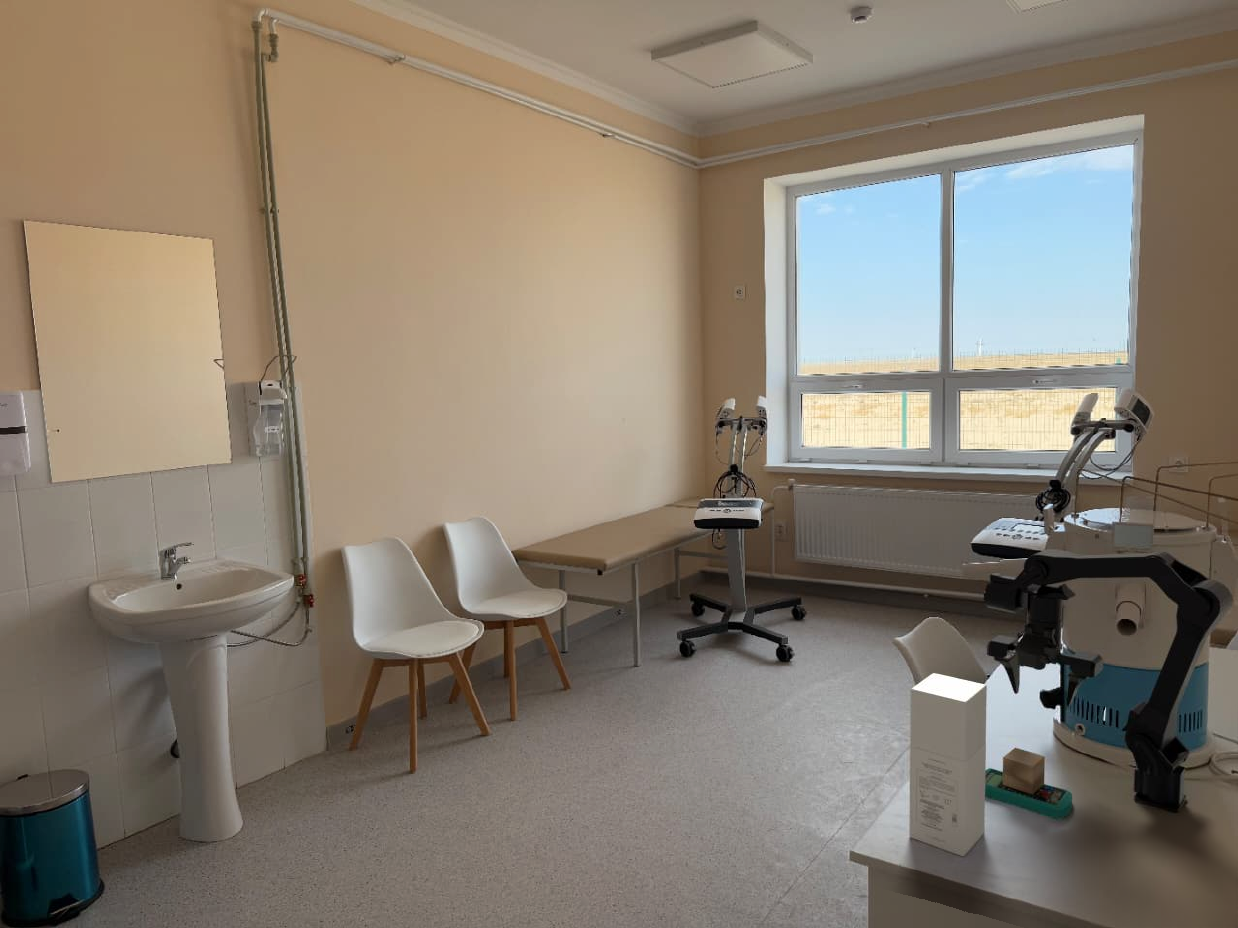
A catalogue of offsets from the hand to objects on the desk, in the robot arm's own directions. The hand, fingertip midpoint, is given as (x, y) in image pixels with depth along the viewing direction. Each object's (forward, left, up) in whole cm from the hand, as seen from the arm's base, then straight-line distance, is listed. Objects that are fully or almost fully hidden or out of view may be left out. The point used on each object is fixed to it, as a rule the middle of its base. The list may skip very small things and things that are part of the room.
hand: (1042, 699), depth 160 cm
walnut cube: (-3, +16, -10) cm, 19 cm away
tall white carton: (+2, +36, -12) cm, 38 cm away
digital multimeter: (-3, +16, -13) cm, 21 cm away
